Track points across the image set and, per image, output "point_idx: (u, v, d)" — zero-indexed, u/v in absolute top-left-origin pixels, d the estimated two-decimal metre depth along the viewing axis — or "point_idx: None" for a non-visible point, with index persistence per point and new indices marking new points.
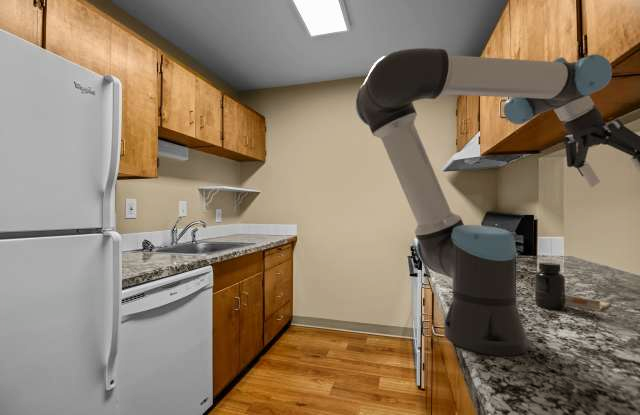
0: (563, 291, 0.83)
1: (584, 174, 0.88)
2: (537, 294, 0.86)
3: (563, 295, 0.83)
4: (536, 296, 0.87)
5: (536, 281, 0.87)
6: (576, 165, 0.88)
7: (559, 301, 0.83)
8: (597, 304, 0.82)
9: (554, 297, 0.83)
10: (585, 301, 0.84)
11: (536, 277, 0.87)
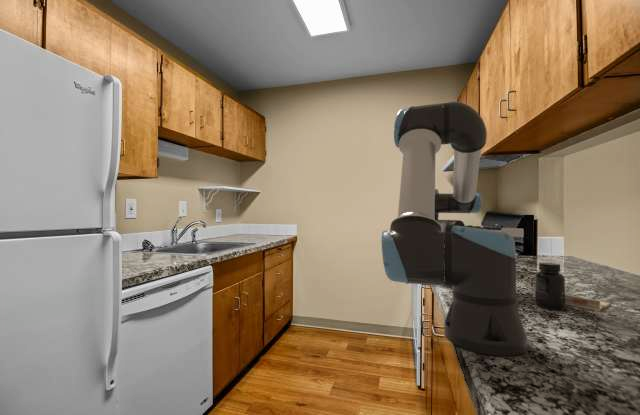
0: (563, 291, 0.83)
1: None
2: (537, 294, 0.86)
3: (563, 295, 0.83)
4: (536, 296, 0.87)
5: (536, 281, 0.87)
6: None
7: (559, 301, 0.83)
8: (597, 304, 0.82)
9: (554, 297, 0.83)
10: (585, 301, 0.84)
11: (536, 277, 0.87)
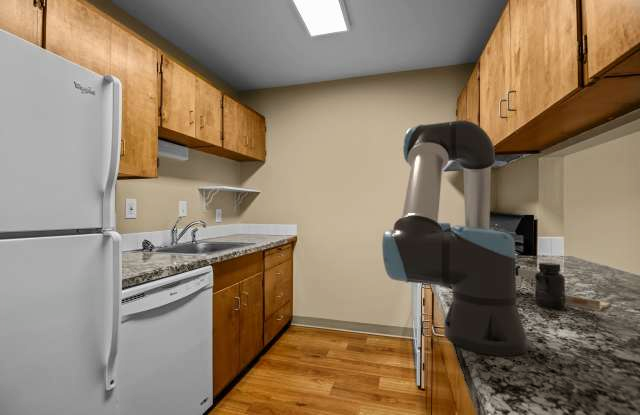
0: (563, 291, 0.83)
1: None
2: (537, 294, 0.86)
3: (563, 295, 0.83)
4: (536, 296, 0.87)
5: (536, 281, 0.87)
6: None
7: (559, 301, 0.83)
8: (597, 304, 0.82)
9: (554, 297, 0.83)
10: (585, 301, 0.84)
11: (536, 277, 0.87)
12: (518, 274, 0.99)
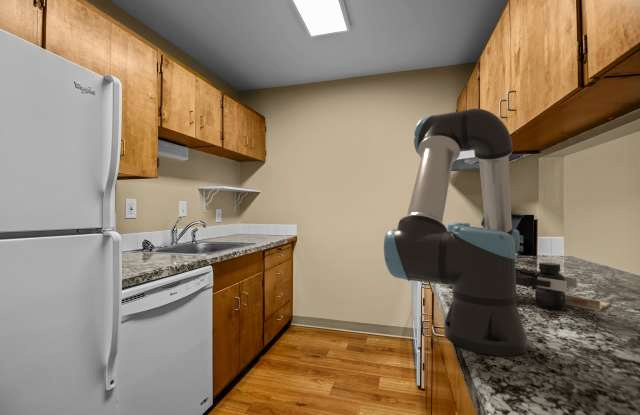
0: None
1: (547, 278, 0.83)
2: (537, 294, 0.86)
3: (563, 295, 0.83)
4: (536, 296, 0.87)
5: None
6: (532, 277, 0.86)
7: (559, 301, 0.83)
8: (597, 304, 0.82)
9: (554, 296, 0.83)
10: (585, 301, 0.84)
11: (536, 277, 0.87)
12: None
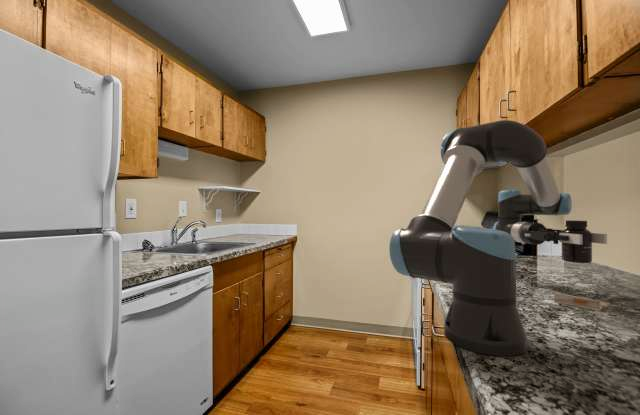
0: (586, 246, 0.86)
1: (567, 233, 0.89)
2: (562, 249, 0.91)
3: (585, 249, 0.86)
4: None
5: None
6: (555, 233, 0.92)
7: (580, 255, 0.87)
8: (597, 304, 0.82)
9: (574, 250, 0.87)
10: (585, 301, 0.84)
11: None
12: None
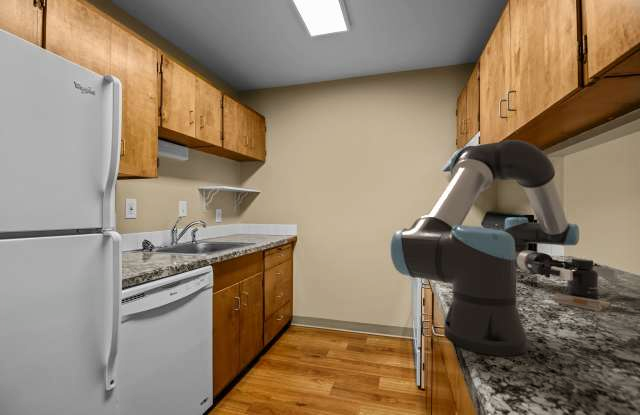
0: (592, 286, 0.86)
1: (558, 267, 0.89)
2: (567, 288, 0.91)
3: (591, 290, 0.86)
4: None
5: None
6: (547, 266, 0.93)
7: (585, 295, 0.86)
8: (597, 304, 0.82)
9: (580, 290, 0.87)
10: (585, 301, 0.84)
11: None
12: None
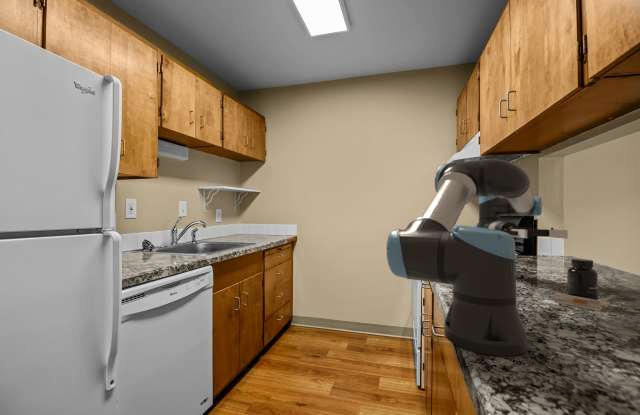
0: (592, 286, 0.86)
1: (517, 229, 1.03)
2: (567, 288, 0.91)
3: (591, 290, 0.86)
4: (567, 290, 0.91)
5: (567, 275, 0.91)
6: None
7: (585, 295, 0.86)
8: (597, 304, 0.82)
9: (579, 290, 0.87)
10: (585, 301, 0.84)
11: (567, 272, 0.91)
12: (549, 235, 1.06)
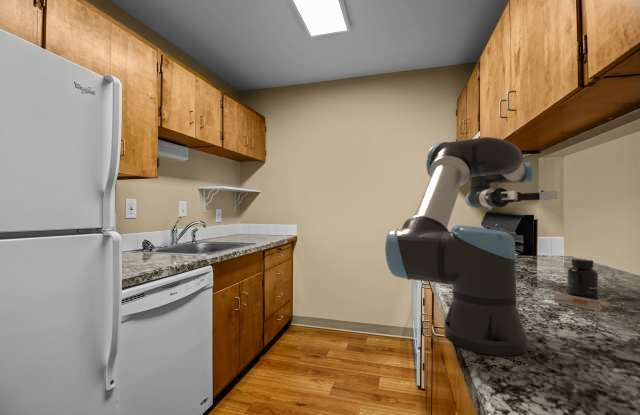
0: (592, 286, 0.86)
1: (507, 191, 1.02)
2: (567, 287, 0.91)
3: (591, 290, 0.86)
4: (567, 289, 0.91)
5: (567, 275, 0.91)
6: None
7: (585, 295, 0.86)
8: (597, 304, 0.82)
9: (579, 290, 0.87)
10: (585, 301, 0.84)
11: (567, 271, 0.91)
12: (539, 197, 1.05)
